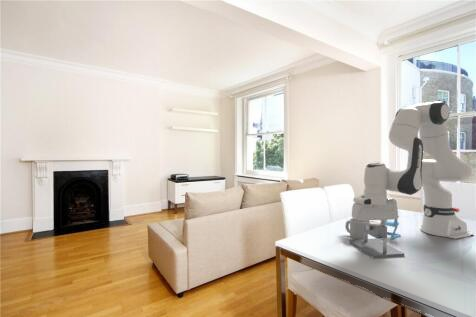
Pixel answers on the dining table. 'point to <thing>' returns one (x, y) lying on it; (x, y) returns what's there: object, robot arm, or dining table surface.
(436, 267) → the dining table surface
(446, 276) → the dining table surface
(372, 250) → the grey peg base
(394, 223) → the chair
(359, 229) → the cup
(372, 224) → the block
